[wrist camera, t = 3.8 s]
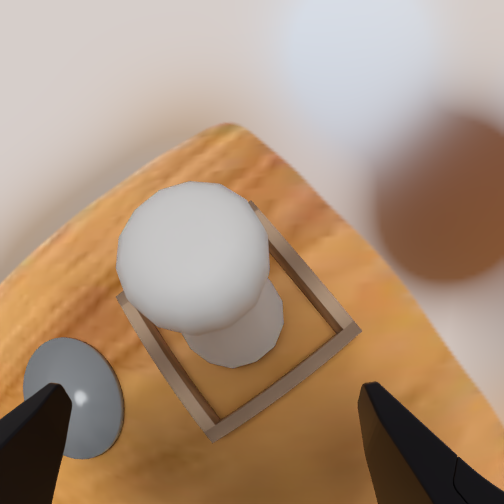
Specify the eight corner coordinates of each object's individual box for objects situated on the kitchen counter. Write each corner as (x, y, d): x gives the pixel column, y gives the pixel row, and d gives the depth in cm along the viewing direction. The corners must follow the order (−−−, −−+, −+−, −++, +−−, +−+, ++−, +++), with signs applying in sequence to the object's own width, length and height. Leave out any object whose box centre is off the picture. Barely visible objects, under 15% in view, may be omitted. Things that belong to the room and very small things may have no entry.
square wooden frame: (353, 334, 19) (362, 330, 17) (218, 436, 17) (212, 443, 15) (252, 214, 22) (251, 200, 21) (128, 303, 21) (115, 296, 19)
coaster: (111, 477, 16) (107, 480, 16) (21, 423, 17) (16, 423, 17) (137, 364, 19) (134, 363, 18) (42, 322, 20) (37, 320, 20)
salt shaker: (259, 382, 18) (239, 405, 6) (176, 344, 19) (48, 298, 7) (295, 296, 20) (330, 182, 8) (214, 264, 21) (148, 129, 9)
